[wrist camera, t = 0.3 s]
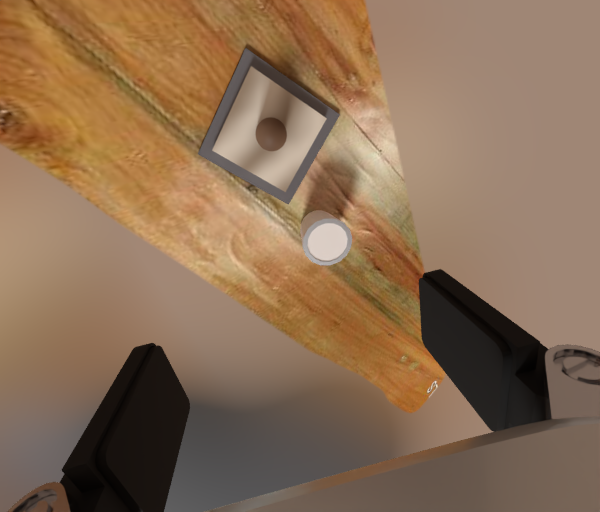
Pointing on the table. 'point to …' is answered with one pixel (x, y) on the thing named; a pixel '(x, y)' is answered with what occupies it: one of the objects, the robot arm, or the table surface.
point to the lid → (268, 130)
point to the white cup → (325, 238)
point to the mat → (226, 105)
